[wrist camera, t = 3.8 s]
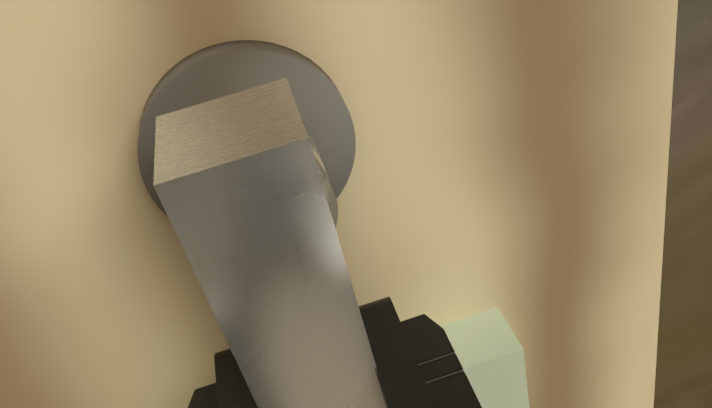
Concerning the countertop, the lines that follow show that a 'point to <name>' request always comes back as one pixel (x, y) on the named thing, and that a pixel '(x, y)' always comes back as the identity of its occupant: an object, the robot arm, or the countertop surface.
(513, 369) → the snap lid
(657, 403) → the countertop surface
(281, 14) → the latch base
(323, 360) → the grey long bar
